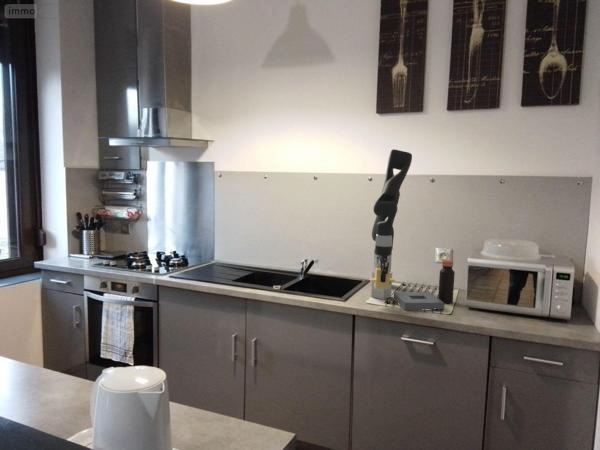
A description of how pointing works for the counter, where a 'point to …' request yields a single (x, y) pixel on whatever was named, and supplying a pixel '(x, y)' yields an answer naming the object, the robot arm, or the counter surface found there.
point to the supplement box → (381, 290)
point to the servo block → (377, 279)
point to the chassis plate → (418, 300)
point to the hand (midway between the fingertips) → (381, 280)
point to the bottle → (446, 282)
